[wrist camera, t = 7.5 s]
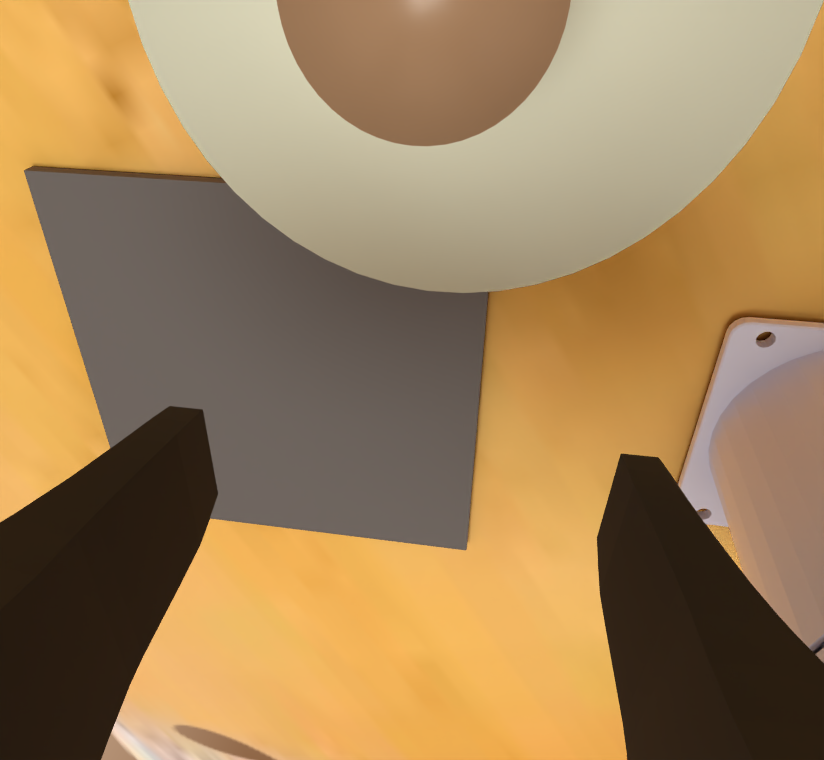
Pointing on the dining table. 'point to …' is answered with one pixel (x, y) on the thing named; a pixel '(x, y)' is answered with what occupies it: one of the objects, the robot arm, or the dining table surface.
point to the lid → (471, 121)
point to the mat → (270, 356)
